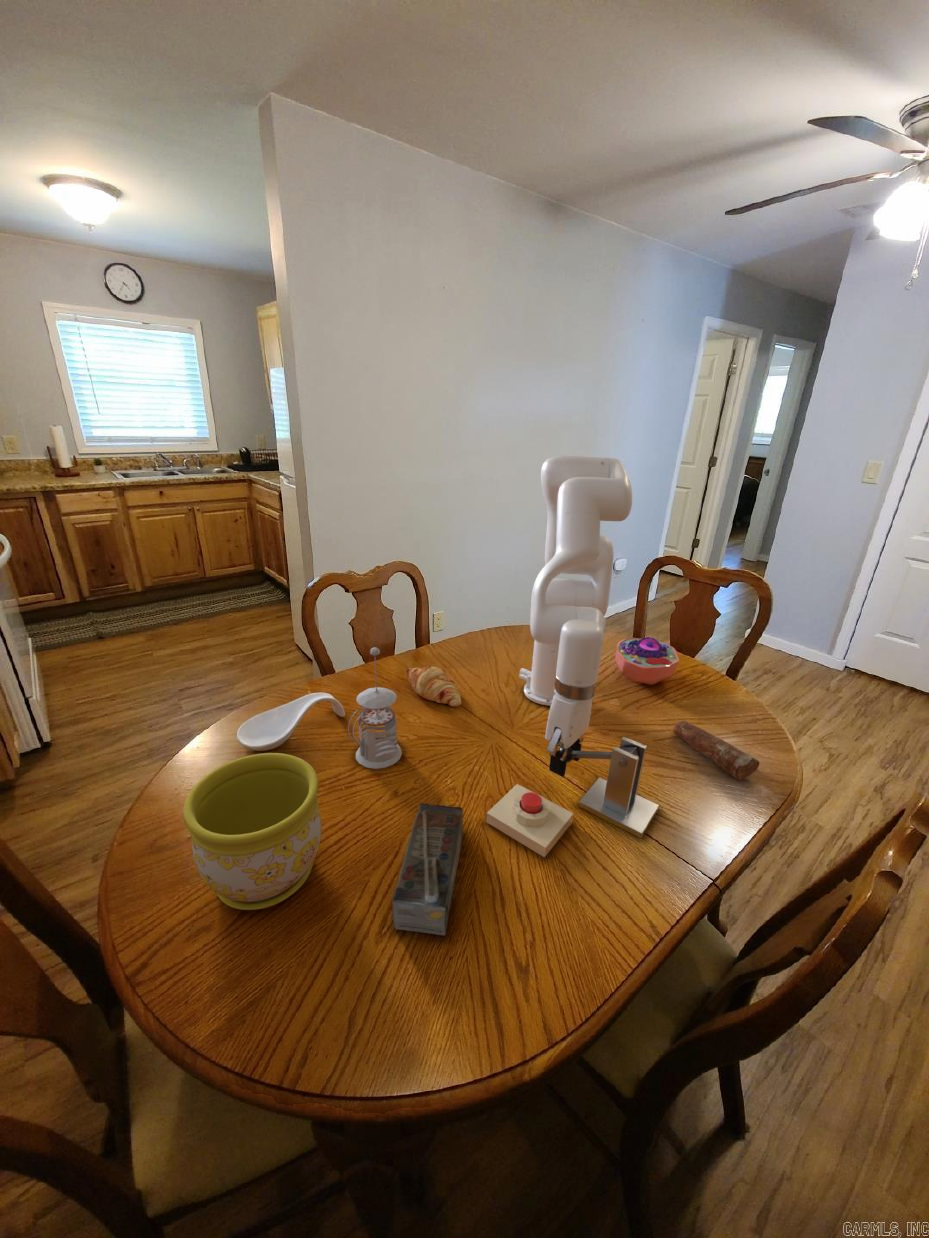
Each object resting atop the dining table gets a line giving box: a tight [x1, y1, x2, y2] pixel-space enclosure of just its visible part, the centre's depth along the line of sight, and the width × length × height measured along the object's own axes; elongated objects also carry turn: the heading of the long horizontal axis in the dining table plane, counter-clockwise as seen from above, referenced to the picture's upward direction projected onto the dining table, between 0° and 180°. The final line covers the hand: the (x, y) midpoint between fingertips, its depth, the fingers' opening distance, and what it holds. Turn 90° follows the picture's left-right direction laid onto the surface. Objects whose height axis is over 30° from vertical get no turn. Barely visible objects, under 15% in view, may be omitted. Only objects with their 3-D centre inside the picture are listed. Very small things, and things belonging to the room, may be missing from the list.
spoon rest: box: [236, 692, 346, 752], centre depth 111 cm, size 24×12×7 cm, turn 134°
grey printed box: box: [391, 803, 464, 936], centre depth 77 cm, size 8×19×7 cm, turn 173°
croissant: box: [406, 665, 462, 707], centre depth 129 cm, size 21×10×8 cm, turn 44°
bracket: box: [578, 736, 660, 839], centre depth 91 cm, size 12×9×14 cm
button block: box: [485, 783, 574, 858], centre depth 89 cm, size 12×10×4 cm
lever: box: [557, 747, 640, 763], centre depth 94 cm, size 16×3×3 cm, turn 51°
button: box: [521, 791, 542, 814], centre depth 88 cm, size 4×4×2 cm
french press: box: [347, 646, 403, 770], centre depth 101 cm, size 10×12×25 cm
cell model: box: [614, 636, 680, 686], centre depth 140 cm, size 17×20×11 cm
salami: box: [673, 720, 760, 781], centre depth 109 cm, size 6×19×6 cm, turn 23°
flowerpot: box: [182, 752, 322, 911], centre depth 75 cm, size 18×18×16 cm
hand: (564, 764), depth 99 cm, fingers open, 5 cm apart
